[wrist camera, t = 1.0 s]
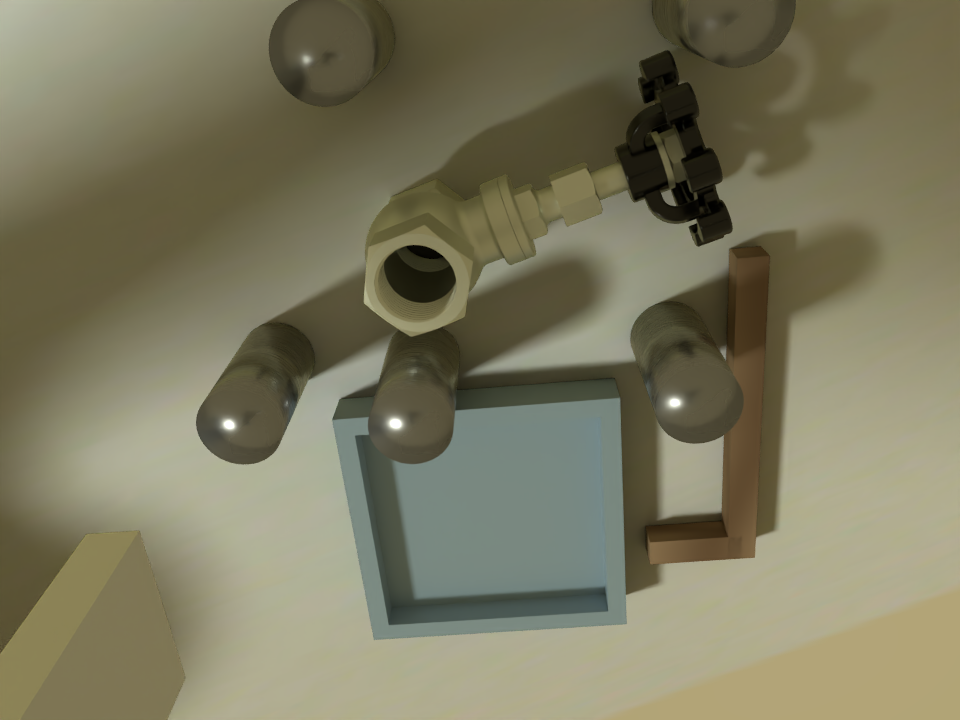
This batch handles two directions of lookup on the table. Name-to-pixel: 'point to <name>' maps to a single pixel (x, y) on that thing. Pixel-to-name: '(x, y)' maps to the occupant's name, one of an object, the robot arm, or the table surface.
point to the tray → (493, 514)
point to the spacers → (435, 354)
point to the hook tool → (743, 439)
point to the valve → (540, 209)
